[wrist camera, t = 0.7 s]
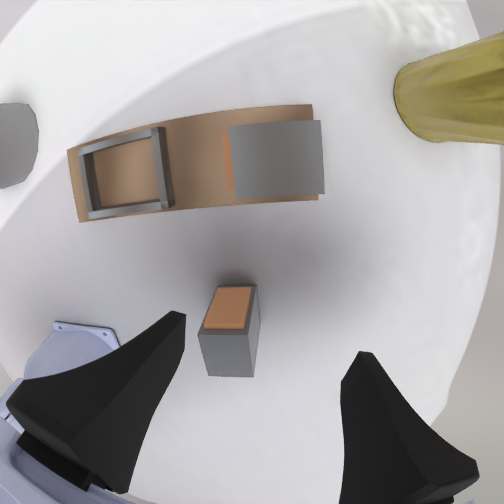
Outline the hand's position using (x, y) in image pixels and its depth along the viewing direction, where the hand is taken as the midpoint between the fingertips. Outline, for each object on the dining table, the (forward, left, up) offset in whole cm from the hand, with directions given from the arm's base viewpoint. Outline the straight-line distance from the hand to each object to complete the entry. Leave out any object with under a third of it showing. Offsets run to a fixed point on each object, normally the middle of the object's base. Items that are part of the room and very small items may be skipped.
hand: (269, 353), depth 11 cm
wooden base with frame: (-6, +7, -10) cm, 14 cm away
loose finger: (-3, -4, -10) cm, 11 cm away
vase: (+12, +11, -10) cm, 19 cm away
